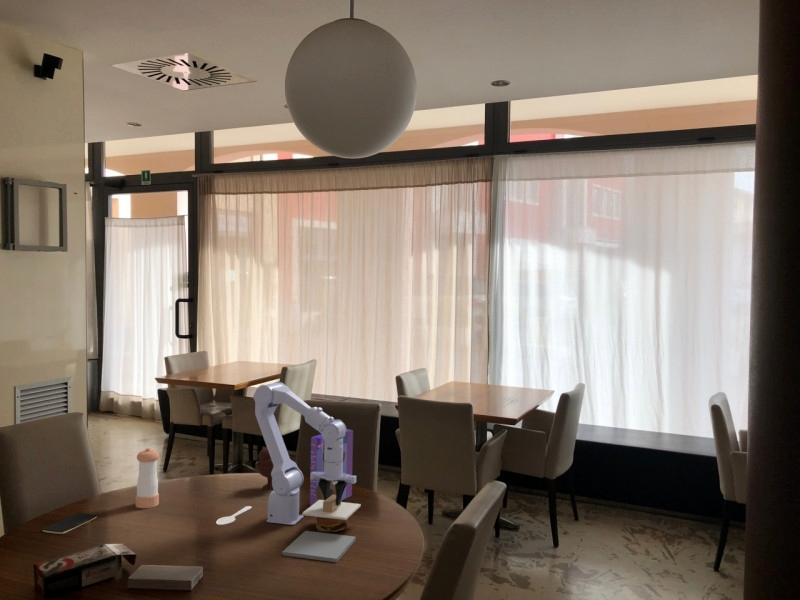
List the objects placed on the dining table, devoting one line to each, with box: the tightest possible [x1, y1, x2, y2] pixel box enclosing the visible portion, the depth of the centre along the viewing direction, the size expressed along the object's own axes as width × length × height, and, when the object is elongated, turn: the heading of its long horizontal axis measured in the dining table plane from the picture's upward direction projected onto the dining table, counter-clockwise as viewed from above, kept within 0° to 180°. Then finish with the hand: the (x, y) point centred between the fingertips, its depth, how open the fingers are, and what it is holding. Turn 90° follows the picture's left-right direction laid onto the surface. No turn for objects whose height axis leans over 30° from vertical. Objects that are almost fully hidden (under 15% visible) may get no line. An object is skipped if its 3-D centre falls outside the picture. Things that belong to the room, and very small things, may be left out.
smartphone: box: [42, 512, 98, 535], centre depth 192 cm, size 7×1×15 cm
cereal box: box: [309, 428, 354, 507], centre depth 217 cm, size 17×5×24 cm, turn 148°
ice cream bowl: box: [254, 447, 274, 492], centre depth 231 cm, size 11×11×15 cm
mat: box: [282, 530, 357, 563], centre depth 178 cm, size 16×16×1 cm
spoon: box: [215, 505, 253, 526], centre depth 202 cm, size 5×18×1 cm, turn 161°
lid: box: [301, 495, 362, 521], centre depth 193 cm, size 14×14×4 cm
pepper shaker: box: [135, 447, 160, 509], centre depth 211 cm, size 7×7×19 cm
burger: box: [315, 517, 348, 533], centre depth 193 cm, size 10×9×5 cm
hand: (332, 504), depth 193 cm, fingers closed on lid, 3 cm apart
